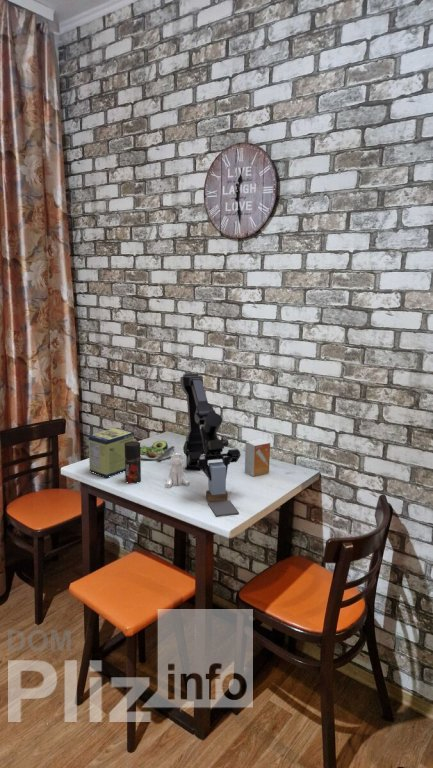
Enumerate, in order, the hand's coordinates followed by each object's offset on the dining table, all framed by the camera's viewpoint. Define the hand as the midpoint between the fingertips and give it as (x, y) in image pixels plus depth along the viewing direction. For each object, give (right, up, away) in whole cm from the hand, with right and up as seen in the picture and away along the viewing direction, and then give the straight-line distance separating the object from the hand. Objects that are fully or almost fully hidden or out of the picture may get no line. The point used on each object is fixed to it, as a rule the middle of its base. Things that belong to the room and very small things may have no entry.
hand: (218, 479), depth 184 cm
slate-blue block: (0, -5, +2) cm, 5 cm away
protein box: (-43, -2, +30) cm, 52 cm away
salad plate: (-28, +2, +50) cm, 58 cm away
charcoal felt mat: (+2, -9, -5) cm, 11 cm away
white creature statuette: (-16, -5, +17) cm, 24 cm away
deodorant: (-33, -4, +19) cm, 38 cm away
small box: (+16, -3, +29) cm, 33 cm away
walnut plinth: (0, -8, +3) cm, 8 cm away
